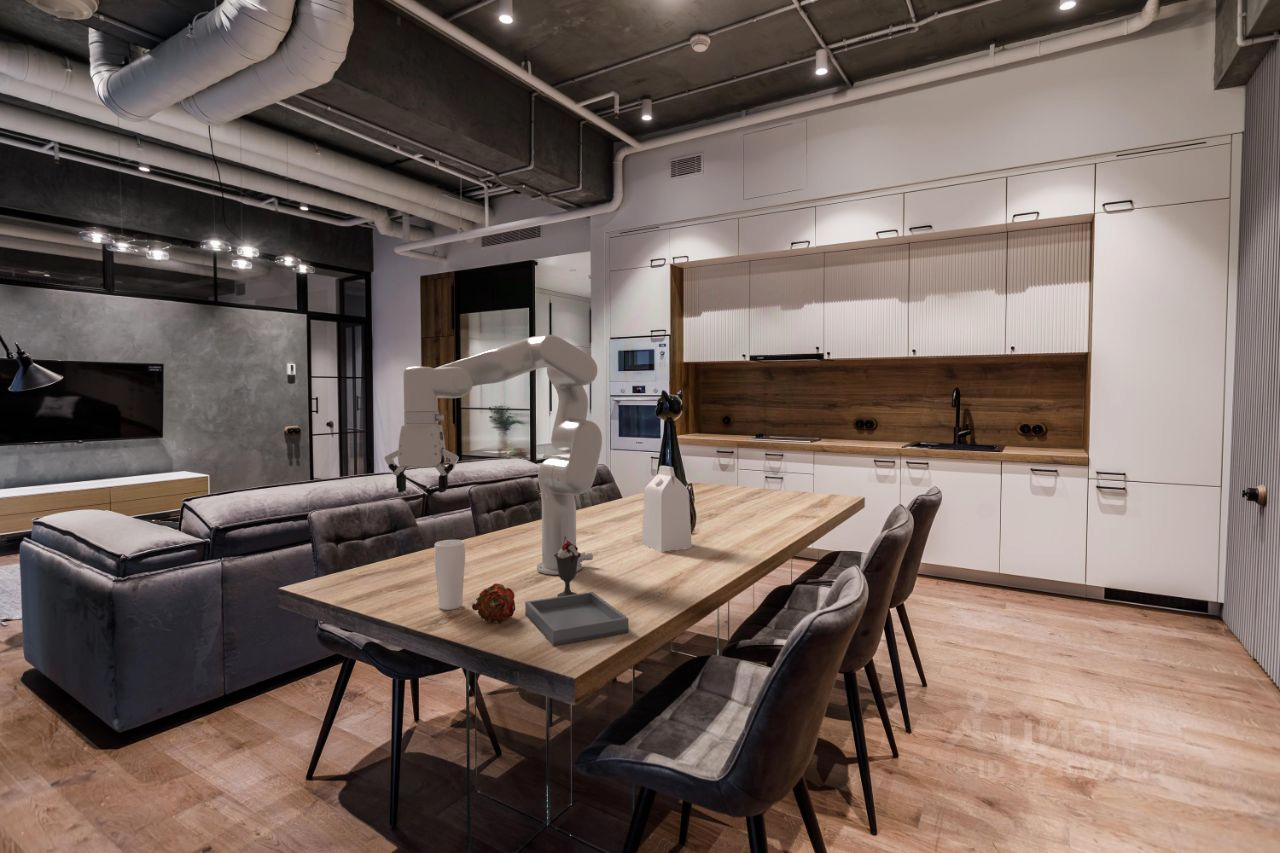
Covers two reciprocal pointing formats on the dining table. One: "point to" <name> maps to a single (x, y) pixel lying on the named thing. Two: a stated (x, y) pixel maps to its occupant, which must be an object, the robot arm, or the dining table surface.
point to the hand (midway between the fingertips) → (422, 491)
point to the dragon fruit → (495, 603)
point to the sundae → (567, 565)
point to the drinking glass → (450, 573)
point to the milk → (666, 513)
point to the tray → (575, 618)
